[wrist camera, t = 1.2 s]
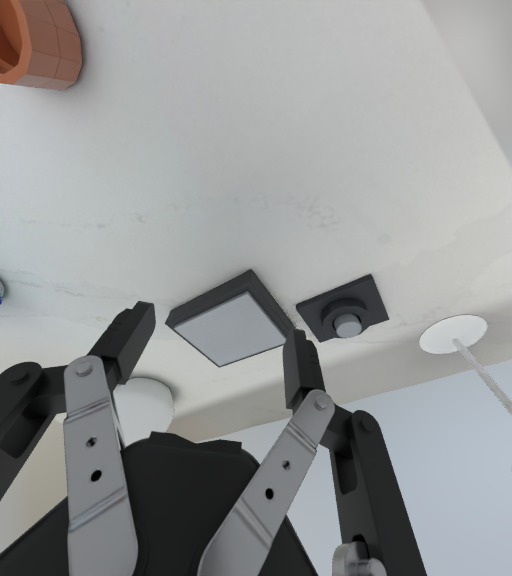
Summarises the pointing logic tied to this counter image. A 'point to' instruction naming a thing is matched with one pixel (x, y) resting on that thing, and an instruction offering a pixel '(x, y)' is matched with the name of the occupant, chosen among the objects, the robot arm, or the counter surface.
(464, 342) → the wineglass
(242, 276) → the scale
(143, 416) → the cup
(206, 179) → the counter surface
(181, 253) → the counter surface
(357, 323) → the button
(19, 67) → the copper hollow cylinder
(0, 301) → the beer can
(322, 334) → the block
